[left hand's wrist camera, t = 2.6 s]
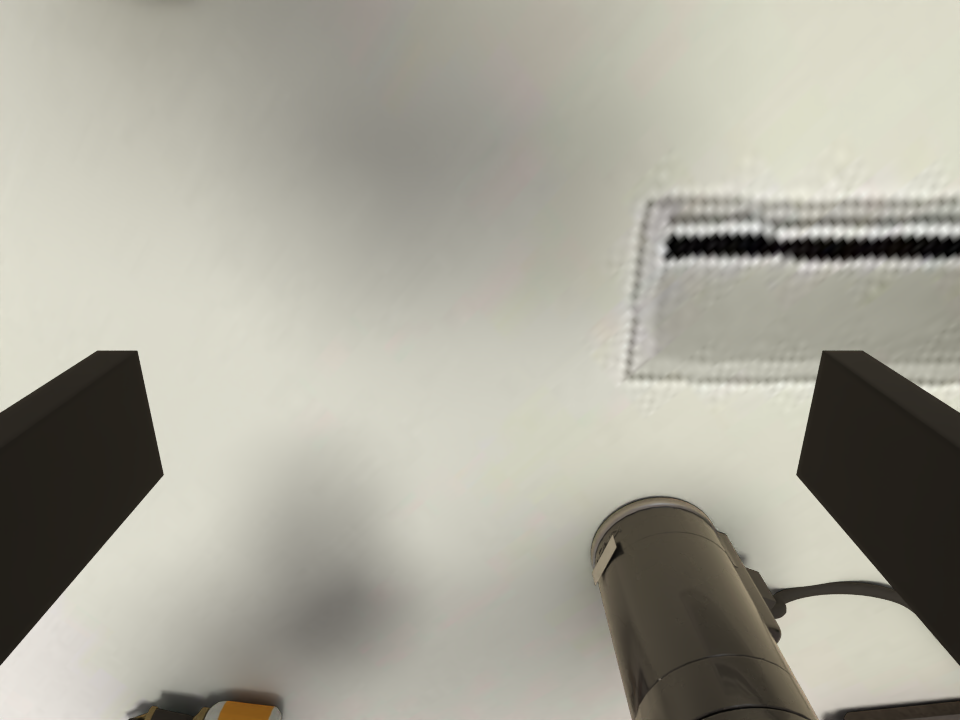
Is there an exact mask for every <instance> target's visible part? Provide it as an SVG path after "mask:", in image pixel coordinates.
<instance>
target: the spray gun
mask: <svg viewBox="0 0 960 720" xmlns="http://www.w3.org/2000/svg"><path fill="white" fill-rule="evenodd" d="M129 720H281V713H280V711H279V710H278V708H277V707H275V706H266V705H258V704H250V703H242V702H234V701H222V702H218V703H217V704H215V705H214V706H213V707H211V708H208V707H203V708H202V709H201V710H200V712H199V713H198V714H197V715H196V716H195V717H194V718H193V716H190V715H187V714H182V713H177V712H172V711H167V710H162V709H158V707H156V706H152V707H151V708H150V710H149V711H148V713H146V714H143V715H140V716H137V717H135V718H130V719H129Z"/></svg>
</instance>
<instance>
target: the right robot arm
mask: <svg viewBox="0 0 960 720" xmlns="http://www.w3.org/2000/svg"><path fill="white" fill-rule="evenodd" d="M591 561H592V566H593V572H592V574H593V579H594V583H595V585H596V584H597V582H598V584H599V588H600V593H601V597H602V601H603V606H604V610H605V614H606V618H607V622H608V626H609V630H610V634H611V638H612V642H613V646H614V650H615V654H616V658H617V662H618V666H619V670H620V674H621V678H622V682H623V686H624V690H625V694H626V698H627V702H628V706H629V710H630V714H631V718H632V720H819V719H818V717H817V716H816V714H815V712H814V710H813V708H812V707H811V705H810V703H809V701H808V699H807V698H806V696H805V694H804V692H803V690H802V688H801V687H800V685H799V684H798V682H797V680H796V678H795V676H794V674H793V673H792V671H791V669H790V667H789V665H788V663H787V662H786V660H785V658H784V656H783V654H782V653H781V651H780V649H779V647H778V645H777V643H778V642H779V640H780V638H781V630H780V628H779V626H778V624H777V622H776V620H775V619H777V618H781V617H782V616H784V615H785V613H786V605H785V604H786V603H788V602H791V601H794V600H797V599H800V598H804V597H810V596H816V595H827V594H853V595H864V596H871V597H876V598H881V599H885V600H889V601H893V602H895V603H898V604H901V605H903V606H905V607H906V608H908V609H910V610H911V611H912V612H913V610H912V609H911V608H910V607H909V606H908V605H907V603H906V602H905V601H904V600H903V599H902V598H901V596H900V595H899V594H898V593H897V592H896V591H895V590H894V589H890V588H887V587H883V586H878V585H873V584H866V583H858V582H833V583H825V584H819V585H813V586H805V587H796V588H790V589H785V590H782V591H780V592H778V593H776V594H775V595H772V594H771V592H770V590H769V589H768V587H767V585H766V584H765V582H764V580H763V579H762V577H761V575H760V574H759V572H757V571H754V570H751V569H748V568H746V567H745V566H744V565H743V563H742V561H741V559H740V558H739V556H738V554H737V552H736V551H735V549H734V547H733V546H732V544H731V542H730V540H729V539H728V537H727V535H725V534H722V533H719V532H717V531H716V529H715V527H714V526H713V524H712V522H711V521H710V519H709V518H708V517H707V516H706V515H705V514H704V513H703V512H702V511H701V510H699V509H698V508H697V507H695V506H693V505H691V504H689V503H687V502H684V501H681V500H677V499H672V498H649V499H644V500H640V501H636V502H634V503H631V504H629V505H626V506H624V507H623V508H621V509H619V510H618V511H616V512H615V513H613V514H612V515H611V516H610V517H609V518H608V519H607V520H606V521H605V522H604V523H603V524H602V525H601V527H600V528H599V530H598V531H597V533H596V535H595V537H594V540H593V543H592V548H591Z"/></svg>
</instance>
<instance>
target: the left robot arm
mask: <svg viewBox="0 0 960 720" xmlns="http://www.w3.org/2000/svg"><path fill="white" fill-rule="evenodd" d="M163 475H164V474H163V469H162V465H161V460H160V455H159V451H158V446H157V441H156V436H155V432H154V427H153V422H152V417H151V413H150V408H149V403H148V399H147V394H146V389H145V384H144V380H143V375H142V370H141V365H140V361H139V356H138V351H96V352H95V353H93V354H91V355H90V356H88V357H87V358H85V359H84V360H82V361H81V362H79V363H77V364H76V365H74V366H73V367H71V368H70V369H68V370H66V371H65V372H63V373H62V374H60V375H59V376H57V377H56V378H54V379H52V380H51V381H49V382H48V383H46V384H45V385H43V386H41V387H40V388H38V389H37V390H35V391H34V392H32V393H31V394H29V395H27V396H26V397H24V398H23V399H21V400H20V401H18V402H16V403H15V404H13V405H12V406H10V407H9V408H7V409H6V410H4V411H2V412H1V413H0V665H1V664H2V663H3V662H4V661H5V659H6V658H7V657H8V656H9V655H10V654H11V652H12V651H13V650H14V649H15V648H16V647H17V645H18V644H19V643H20V642H21V641H22V640H23V638H24V637H25V636H26V635H27V634H28V633H29V631H30V630H31V629H32V628H33V627H34V626H35V624H36V623H37V622H38V621H39V620H40V619H41V617H42V616H43V615H44V614H45V613H46V612H47V610H48V609H49V608H50V607H51V606H52V605H53V603H54V602H55V601H56V600H57V599H58V598H59V596H60V595H61V594H62V593H63V592H64V591H65V589H66V588H67V587H68V586H69V585H70V584H71V582H72V581H73V580H74V579H75V578H76V577H77V575H78V574H79V573H80V572H81V571H82V570H83V568H84V567H85V566H86V565H87V564H88V563H89V561H90V560H91V559H92V558H93V557H94V556H95V554H96V553H97V552H98V551H99V550H100V549H101V547H102V546H103V545H104V544H105V543H106V542H107V540H108V539H109V538H110V537H111V536H112V535H113V533H114V532H115V531H116V530H117V529H118V528H119V526H120V525H121V524H122V523H123V522H124V521H125V519H126V518H127V517H128V516H129V515H130V514H131V512H132V511H133V510H134V509H135V508H136V507H137V505H138V504H139V503H140V502H141V501H142V500H143V498H144V497H145V496H146V495H147V494H148V493H149V491H150V490H151V489H152V488H153V487H154V486H155V484H156V483H157V482H158V481H159V480H160V479H161V477H162V476H163ZM796 475H797V476H798V477H799V479H800V480H801V481H802V482H803V483H804V484H805V486H806V487H807V488H808V489H809V490H810V491H811V493H812V494H813V495H814V496H815V497H816V498H817V500H818V501H819V502H820V503H821V504H822V505H823V507H824V508H825V509H826V510H827V511H828V512H829V514H830V515H831V516H832V517H833V518H834V519H835V521H836V522H837V523H838V524H839V525H840V526H841V528H842V529H843V530H844V531H845V532H846V533H847V535H848V536H849V537H850V538H851V539H852V540H853V542H854V543H855V544H856V545H857V546H858V547H859V549H860V550H861V551H862V552H863V553H864V554H865V556H866V557H867V558H868V559H869V560H870V561H871V563H872V564H873V565H874V566H875V567H876V568H877V570H878V571H879V572H880V573H881V574H882V575H883V577H884V578H885V579H886V580H887V581H888V582H889V584H890V585H891V586H892V587H893V588H894V589H895V591H896V592H897V593H898V594H899V595H900V596H901V598H902V599H903V600H904V601H905V602H906V603H907V605H908V606H909V607H910V608H911V609H912V610H913V612H914V613H915V614H916V615H917V616H918V617H919V619H920V620H921V621H922V622H923V623H924V624H925V626H926V627H927V628H928V629H929V630H930V631H931V633H932V634H933V635H934V636H935V637H936V638H937V640H938V641H939V642H940V643H941V644H942V645H943V647H944V648H945V649H946V650H947V651H948V652H949V654H950V655H951V656H952V657H953V658H954V659H955V661H956V662H957V663H958V664H959V665H960V413H959V412H958V411H956V410H954V409H953V408H951V407H950V406H948V405H947V404H945V403H944V402H942V401H940V400H939V399H937V398H936V397H934V396H933V395H931V394H929V393H928V392H926V391H925V390H923V389H922V388H920V387H919V386H917V385H915V384H914V383H912V382H911V381H909V380H908V379H906V378H904V377H903V376H901V375H900V374H898V373H897V372H895V371H894V370H892V369H890V368H889V367H887V366H886V365H884V364H883V363H881V362H879V361H878V360H876V359H875V358H873V357H872V356H870V355H869V354H867V353H865V352H864V351H822V356H821V361H820V365H819V370H818V375H817V380H816V384H815V389H814V394H813V399H812V403H811V408H810V413H809V417H808V422H807V427H806V432H805V436H804V441H803V446H802V450H801V455H800V460H799V465H798V469H797V474H796Z"/></svg>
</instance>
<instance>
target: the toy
mask: <svg viewBox="0 0 960 720" xmlns="http://www.w3.org/2000/svg"><path fill="white" fill-rule="evenodd" d="M844 720H960V701H956V702H946V703H936V704H927V705H917V706H907V707H897V708H887V709H878V710H868V711H858V712H848V713H847V714H846V715H845V717H844Z"/></svg>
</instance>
